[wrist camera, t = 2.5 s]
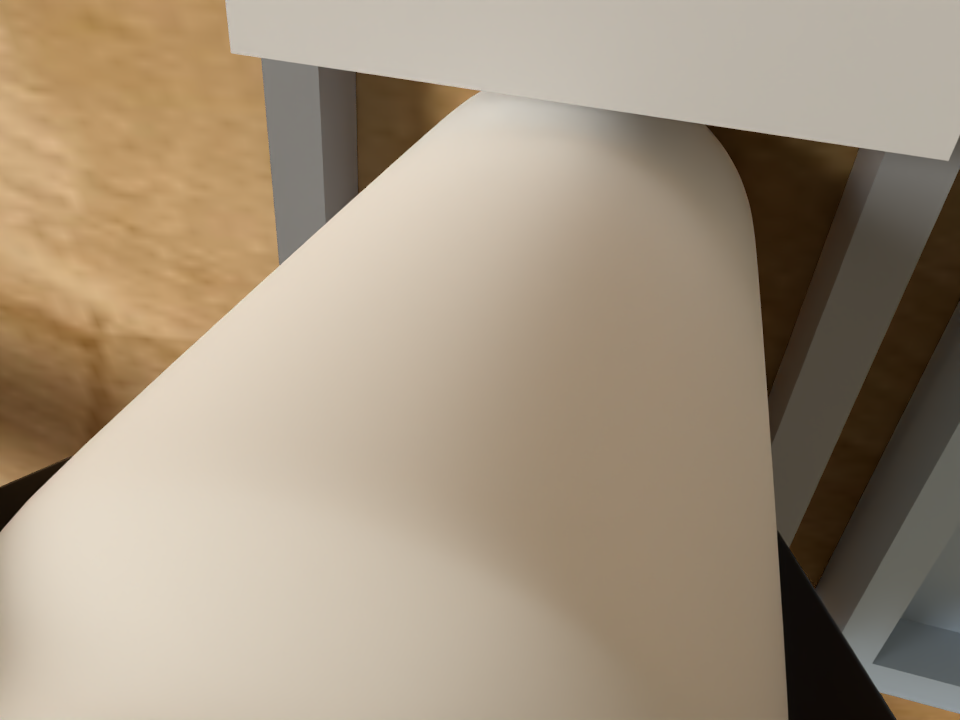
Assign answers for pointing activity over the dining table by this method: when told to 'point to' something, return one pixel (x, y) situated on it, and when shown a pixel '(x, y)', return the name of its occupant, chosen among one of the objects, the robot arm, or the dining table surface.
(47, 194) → the dining table surface
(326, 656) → the can
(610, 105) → the caddy
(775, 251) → the dining table surface
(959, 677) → the tray
